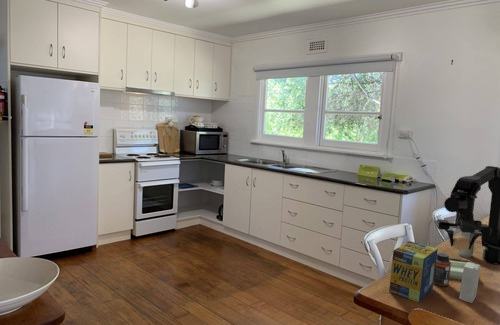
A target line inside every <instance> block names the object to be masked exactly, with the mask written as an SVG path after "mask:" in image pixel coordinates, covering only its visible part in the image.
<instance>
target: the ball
mask: <svg viewBox="0 0 500 325" xmlns="http://www.w3.org/2000/svg"><path fill="white" fill-rule="evenodd" d="M469 245H470V243H469V240H468V239H467V238H466V237H464V236H460V235H457V236H455V237H453V247H454V249H455V250H457V251H458V250H459V251H465V250H467V249H468V248H469Z"/></svg>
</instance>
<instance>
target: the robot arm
mask: <svg viewBox="0 0 500 325" xmlns="http://www.w3.org/2000/svg"><path fill="white" fill-rule="evenodd" d="M486 183H487V187H488V189H489V191H490V193H491V199H490V208H489V216H488V217H489V218H488V222H487V223H488V224H487V223H483V222H482V220H475V218H474V217H475V216H474V211H475V210H474V209H475V208H474V207H475V201H476V199H478V195H477V194H478V192H479V191H481V189H482V186H483V185H484V184H486ZM443 203H444V204H443V206H444V208H445V209H446V211H447V212H449V213H455V219H454V222H449V220H448V219H439V218H438V219H436V222H435V226H436V228H437V229H438V230H442V231H443V230H444V231H445V233H447V236H448V239H449V244H450V247H454V246H453V239H454V234H455V231H454V230H453V229H459V230H460V231H461V232H464V233H465V232H468V233H470V237H469V243H470V245H469V249H470V248H471V246H472V245H473V243H474V244H475V242H476V240H477V239H478V238H479V237H481V246H482V247H484V249H483V251H482V259H483V261H485V263H486V264H493V265H500V167H499V166H493V165H492V166H491V165H488V166H487V165H486V166H485V168H484V169H481V170H479V171H478V172H476V173H475V174H473V175H467V176H466V175H465V176H461V177H459V178H458V180H456V183H455V185H454V186H453V188H452V190H451V192H450V197H449V196H448V198H445V200H444V202H443Z"/></svg>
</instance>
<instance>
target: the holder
mask: <svg viewBox="0 0 500 325" xmlns="http://www.w3.org/2000/svg"><path fill="white" fill-rule="evenodd" d="M449 260H450V261H457V262H465V263H467V262H470V263H473V262H472V260H470V259H463V258H456V257H449Z"/></svg>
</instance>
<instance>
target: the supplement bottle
mask: <svg viewBox="0 0 500 325" xmlns="http://www.w3.org/2000/svg"><path fill="white" fill-rule="evenodd" d="M449 258H450V255H449V254H447V253H444V252H437V259H436V267H435V275H434V283H433V285H435V286H441V287H447V286H449V282H450V278H449V277H450V268H451V262H450V261H451V260H450V261H449Z"/></svg>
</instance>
